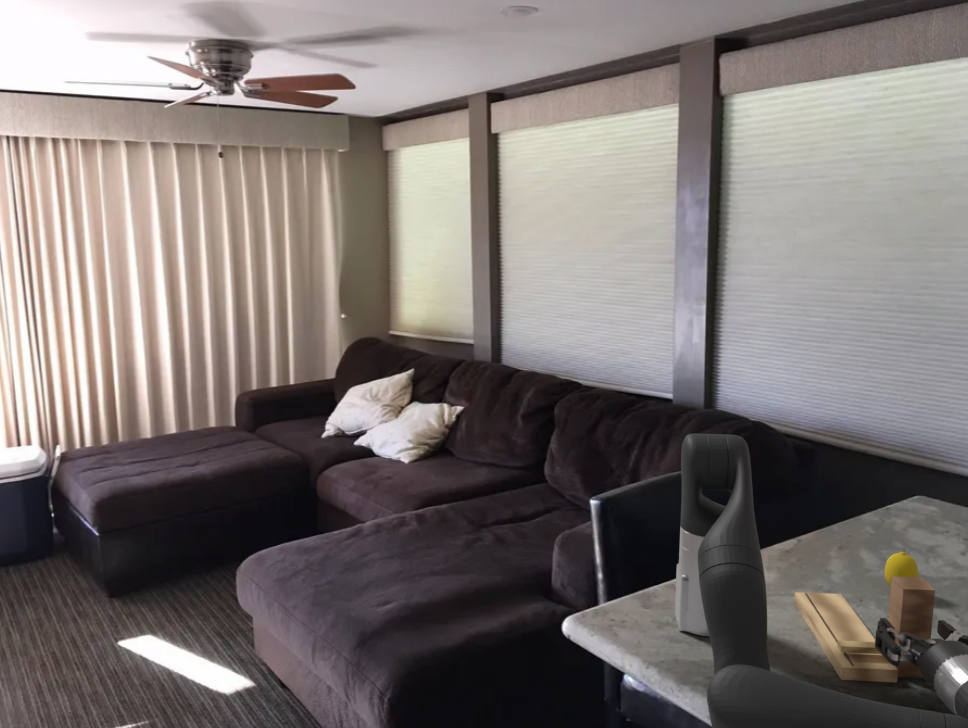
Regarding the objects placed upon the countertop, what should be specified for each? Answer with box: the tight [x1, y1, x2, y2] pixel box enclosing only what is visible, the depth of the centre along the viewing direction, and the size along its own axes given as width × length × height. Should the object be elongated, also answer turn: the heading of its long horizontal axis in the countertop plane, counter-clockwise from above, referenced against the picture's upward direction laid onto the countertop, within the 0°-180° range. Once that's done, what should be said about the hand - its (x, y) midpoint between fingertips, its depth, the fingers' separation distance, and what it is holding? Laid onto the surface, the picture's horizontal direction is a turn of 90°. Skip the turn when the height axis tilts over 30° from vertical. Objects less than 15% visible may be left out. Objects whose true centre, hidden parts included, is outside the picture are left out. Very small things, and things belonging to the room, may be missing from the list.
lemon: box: [884, 551, 919, 587], centre depth 153 cm, size 6×6×8 cm
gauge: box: [837, 576, 936, 679], centre depth 126 cm, size 12×4×14 cm, turn 84°
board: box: [794, 591, 898, 683], centre depth 136 cm, size 8×26×2 cm, turn 174°
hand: (910, 624), depth 125 cm, fingers open, 8 cm apart
